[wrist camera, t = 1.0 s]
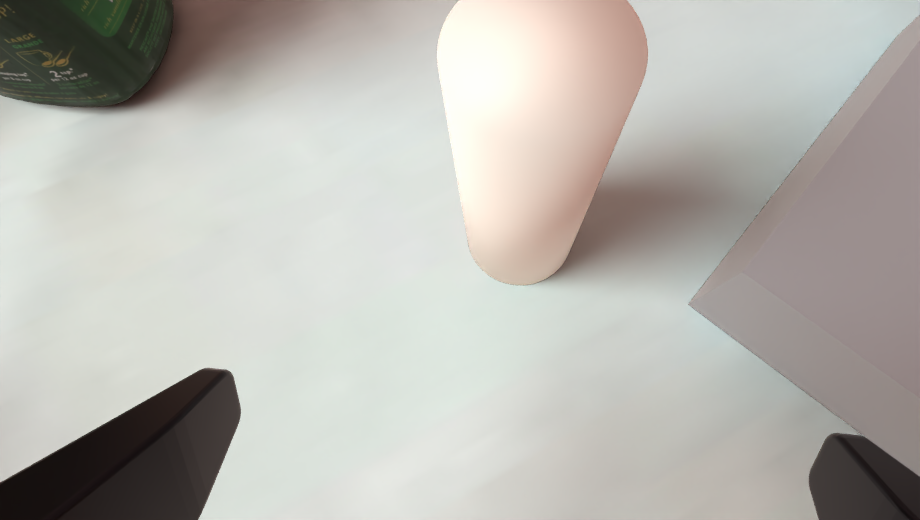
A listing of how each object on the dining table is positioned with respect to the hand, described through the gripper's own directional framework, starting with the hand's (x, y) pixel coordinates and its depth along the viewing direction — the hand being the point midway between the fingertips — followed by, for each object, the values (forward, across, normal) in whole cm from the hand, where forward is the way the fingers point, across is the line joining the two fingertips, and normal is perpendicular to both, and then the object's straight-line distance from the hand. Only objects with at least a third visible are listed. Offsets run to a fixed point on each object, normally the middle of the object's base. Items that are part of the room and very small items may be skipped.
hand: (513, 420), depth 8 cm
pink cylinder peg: (+15, 0, +4) cm, 15 cm away
